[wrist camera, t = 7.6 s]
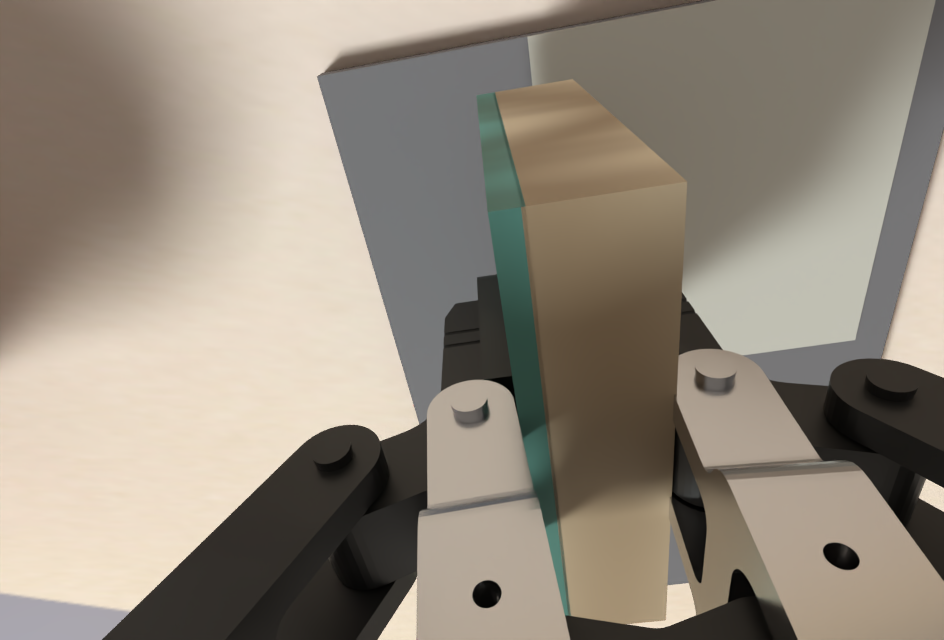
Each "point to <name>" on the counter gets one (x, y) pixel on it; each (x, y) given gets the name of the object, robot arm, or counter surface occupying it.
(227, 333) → the counter surface
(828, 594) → the robot arm
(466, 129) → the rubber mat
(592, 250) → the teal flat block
